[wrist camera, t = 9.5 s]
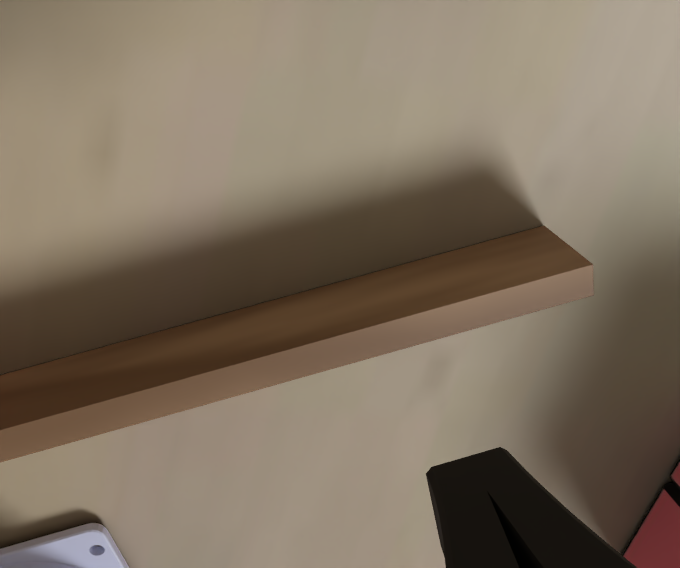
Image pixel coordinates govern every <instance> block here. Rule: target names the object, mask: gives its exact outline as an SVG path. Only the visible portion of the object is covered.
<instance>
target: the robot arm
mask: <svg viewBox="0 0 680 568" xmlns="http://www.w3.org/2000/svg"><path fill="white" fill-rule="evenodd" d="M426 476H427V481H428V486H429V491H430V496H431V500H432V505H433V510H434V515H435V520H436V524H437V529H438V534H439V539H440V544H441V547H442V550H443V553H444V557H445V563H446V568H637V567H636V566H635V565H634V564H632V563H631V562H630V561H628V560H627V559H626V558H625V557H623V556H622V555H621V554H620V553H619V552H617V551H616V550H615V549H614V548H612V547H611V546H610V545H609V544H607V543H606V542H605V541H604V540H603V539H602V538H600V537H599V536H598V535H597V534H596V533H595V532H593V531H592V530H591V529H590V528H589V527H587V526H586V525H585V524H584V523H583V522H582V521H580V520H579V519H578V518H577V517H576V516H575V515H573V514H572V513H571V512H570V511H569V510H568V509H567V508H566V507H564V506H563V505H562V504H561V503H560V502H559V501H558V500H557V499H556V498H555V497H554V496H553V495H551V494H550V493H549V492H548V491H547V490H546V489H545V488H544V487H543V486H542V485H541V484H540V483H539V482H538V481H537V480H536V479H535V478H533V477H532V476H531V475H530V474H529V473H528V472H527V471H526V470H525V469H524V468H523V467H522V466H521V465H520V464H519V462H518V461H517V460H516V459H515V458H514V457H513V456H512V455H511V454H510V453H509V452H508V451H507V450H505V449H503V448H501V447H499V448H495V449H492V450H488V451H485V452H482V453H478V454H475V455H471V456H468V457H464V458H461V459H458V460H454V461H451V462H447V463H444V464H440V465H437V466H434V467H431V468H430V470H429V471H428V472H427V473H426ZM94 545H100V546H99V547H97V546H94ZM0 568H129V566H128V565H127V563H126V561H125V559H124V558H123V556H122V554H121V552H120V551H119V549H118V547H117V546H116V544H115V542H114V540H113V539H112V537H111V535H110V534H109V532H108V530H107V529H106V528H105V527H104V526H103V525H101V524H99V523H89V524H85V525H81V526H78V527H74V528H71V529H67V530H64V531H60V532H57V533H54V534H50V535H47V536H43V537H40V538H36V539H33V540H29V541H26V542H22V543H19V544H15V545H12V546H8V547H5V548H2V549H0Z"/></svg>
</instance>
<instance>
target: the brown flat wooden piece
mask: <svg viewBox="0 0 680 568" xmlns="http://www.w3.org/2000/svg"><path fill="white" fill-rule="evenodd" d="M592 295H594V283H593V264H592V263H590V262H589V261H588V260H587V259H585V258H584V257H583V256H582V255H580V254H579V253H578V252H577V251H575V250H574V249H573V248H572V247H570V246H569V245H568V244H567V243H565V242H564V241H563V240H562V239H560V238H559V237H558V236H557V235H555V234H554V233H553V232H552V231H550V230H549V229H548V228H546V227H545V226H541V227H537V228H533V229H530V230H526V231H522V232H519V233H515V234H512V235H508V236H504V237H501V238H497V239H493V240H490V241H486V242H482V243H479V244H475V245H472V246H468V247H464V248H461V249H457V250H453V251H450V252H446V253H443V254H439V255H435V256H432V257H428V258H424V259H421V260H417V261H413V262H410V263H406V264H403V265H399V266H395V267H392V268H388V269H384V270H381V271H377V272H373V273H370V274H366V275H363V276H359V277H355V278H352V279H348V280H344V281H341V282H337V283H334V284H330V285H326V286H323V287H319V288H315V289H312V290H308V291H304V292H301V293H297V294H294V295H290V296H286V297H283V298H279V299H275V300H272V301H268V302H265V303H261V304H257V305H254V306H250V307H246V308H243V309H239V310H235V311H232V312H228V313H225V314H221V315H217V316H214V317H210V318H206V319H203V320H199V321H196V322H192V323H188V324H185V325H181V326H177V327H174V328H170V329H166V330H163V331H159V332H156V333H152V334H148V335H145V336H141V337H137V338H134V339H130V340H127V341H123V342H119V343H116V344H112V345H108V346H105V347H101V348H97V349H94V350H90V351H87V352H83V353H79V354H76V355H72V356H68V357H65V358H61V359H57V360H54V361H50V362H47V363H43V364H39V365H36V366H32V367H28V368H25V369H21V370H18V371H14V372H10V373H7V374H3V375H0V462H4V461H7V460H11V459H14V458H18V457H21V456H25V455H28V454H32V453H36V452H39V451H43V450H46V449H50V448H53V447H57V446H60V445H64V444H67V443H71V442H75V441H78V440H82V439H85V438H89V437H92V436H96V435H99V434H103V433H106V432H110V431H114V430H117V429H121V428H124V427H128V426H131V425H135V424H138V423H142V422H145V421H149V420H153V419H156V418H160V417H163V416H167V415H170V414H174V413H177V412H181V411H184V410H188V409H192V408H195V407H199V406H202V405H206V404H209V403H213V402H216V401H220V400H223V399H227V398H231V397H234V396H238V395H241V394H245V393H248V392H252V391H255V390H259V389H263V388H266V387H270V386H273V385H277V384H280V383H284V382H287V381H291V380H294V379H298V378H302V377H305V376H309V375H312V374H316V373H319V372H323V371H326V370H330V369H333V368H337V367H341V366H344V365H348V364H351V363H355V362H358V361H362V360H365V359H369V358H372V357H376V356H380V355H383V354H387V353H390V352H394V351H397V350H401V349H404V348H408V347H411V346H415V345H419V344H422V343H426V342H429V341H433V340H436V339H440V338H443V337H447V336H450V335H454V334H458V333H461V332H465V331H468V330H472V329H475V328H479V327H482V326H486V325H490V324H493V323H497V322H500V321H504V320H507V319H511V318H514V317H518V316H521V315H525V314H529V313H532V312H536V311H539V310H543V309H546V308H550V307H553V306H557V305H560V304H564V303H568V302H571V301H575V300H578V299H582V298H585V297H589V296H592Z"/></svg>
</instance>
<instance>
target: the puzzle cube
mask: <svg viewBox="0 0 680 568" xmlns="http://www.w3.org/2000/svg"><path fill="white" fill-rule="evenodd" d="M671 479H672V481H673V483H668V484H665V485H664V487H663V489H662V490H661V492H660V494H659V495H658V497H657V499H656V500H655V502H654V504H653V505H652V507H651V509H650V510H649V512H648V514H647V515H646V517H645V519H644V521H643V522H642V524H641V526H640V527H639V529H638V531H637V532H636V534H635V536H634V537H633V539H632V541H631V542H630V544H629V546H628V547H627V549H626V551H625V552H624V554H623V557H625V558H626V559H627V560H628V561H630V562H631V563H632V564H634V565H635V566H636V567H637V568H680V460H679V462H678V464H677V465H676V467H675V469H674V470H673V472H672V475H671Z"/></svg>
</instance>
